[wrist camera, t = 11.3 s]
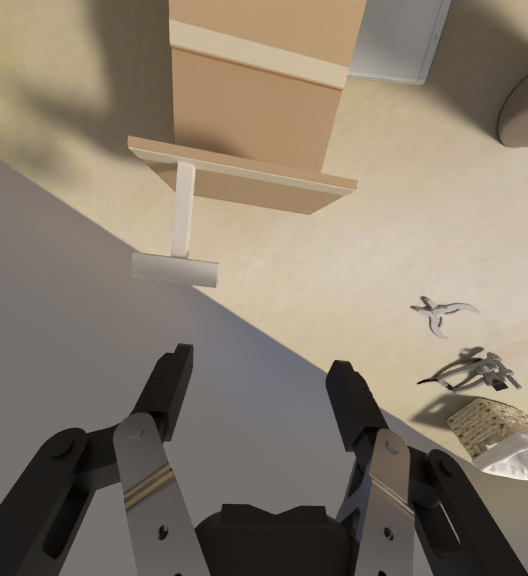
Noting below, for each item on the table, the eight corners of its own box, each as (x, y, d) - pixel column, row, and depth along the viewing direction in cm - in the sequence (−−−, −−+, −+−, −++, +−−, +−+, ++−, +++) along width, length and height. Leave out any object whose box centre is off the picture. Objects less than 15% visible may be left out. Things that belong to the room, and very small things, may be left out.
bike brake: (490, 344, 55) (412, 375, 64) (514, 369, 49) (425, 398, 59) (507, 366, 60) (432, 392, 69) (530, 390, 54) (446, 414, 64)
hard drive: (333, 73, 27) (425, 83, 28) (350, -32, 23) (458, -16, 24) (329, 77, 28) (417, 87, 29) (344, -20, 24) (446, -6, 25)
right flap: (357, 180, 16) (335, 302, 17) (310, 209, 26) (298, 283, 28) (127, 135, 14) (121, 278, 15) (176, 186, 24) (170, 268, 25)
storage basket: (438, 420, 73) (478, 474, 61) (478, 392, 66) (533, 446, 54) (484, 431, 79) (530, 482, 67) (525, 406, 72) (585, 458, 59)
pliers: (449, 342, 52) (406, 322, 48) (443, 338, 54) (402, 317, 50) (485, 313, 48) (442, 287, 44) (478, 309, 50) (436, 284, 46)
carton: (345, -6, 24) (553, -373, 8) (298, 198, 35) (343, 230, 18) (197, -54, 22) (41, -705, 6) (195, 180, 33) (139, 197, 16)
